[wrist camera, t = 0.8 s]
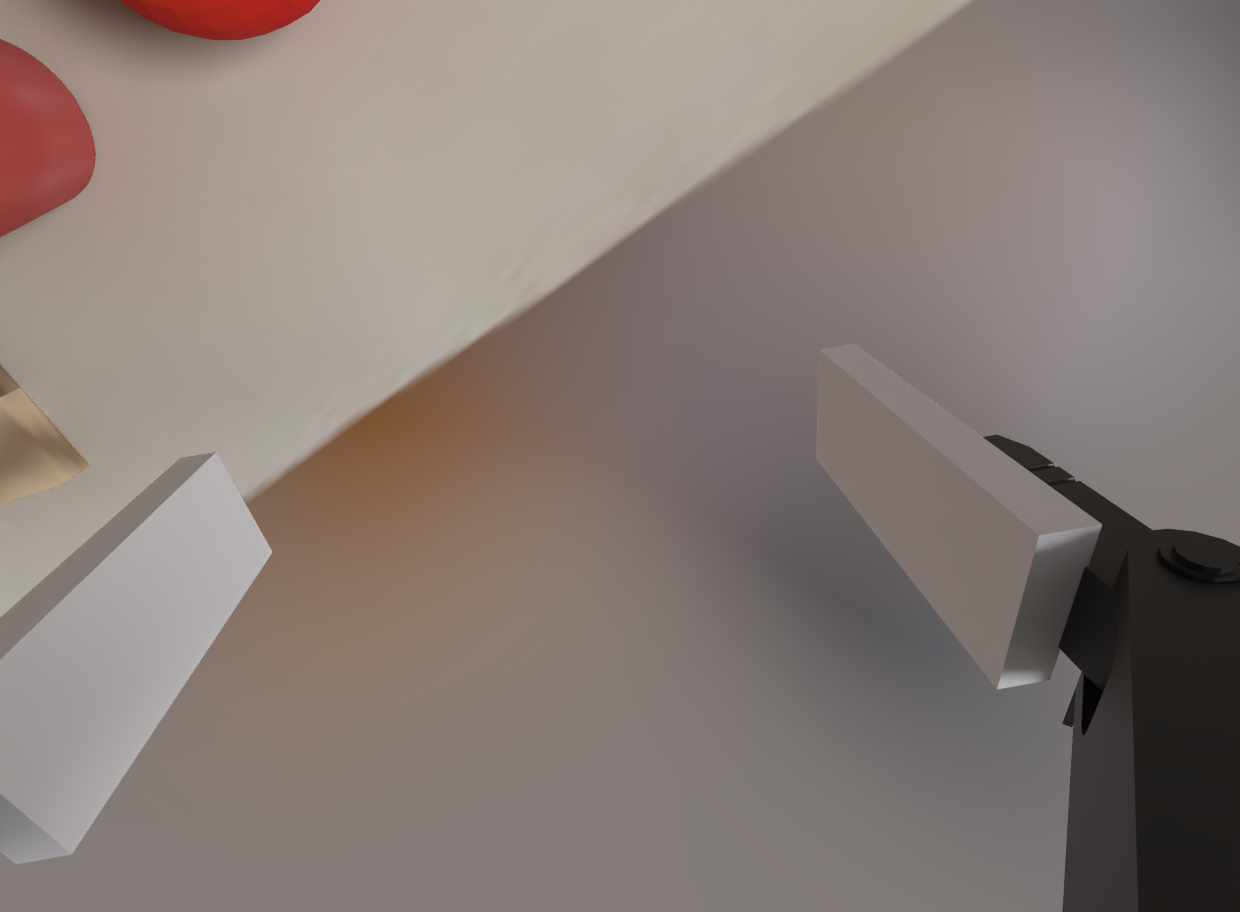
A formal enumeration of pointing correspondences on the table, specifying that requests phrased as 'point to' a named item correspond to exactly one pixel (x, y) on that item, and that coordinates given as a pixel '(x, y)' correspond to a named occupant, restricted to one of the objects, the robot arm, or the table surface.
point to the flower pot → (38, 140)
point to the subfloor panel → (30, 446)
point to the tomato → (222, 16)
